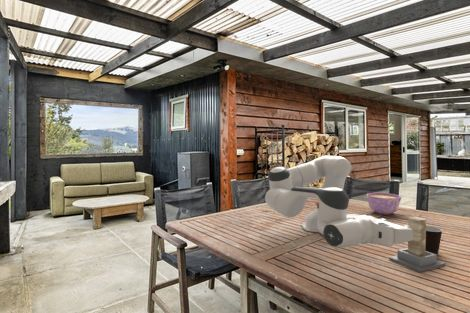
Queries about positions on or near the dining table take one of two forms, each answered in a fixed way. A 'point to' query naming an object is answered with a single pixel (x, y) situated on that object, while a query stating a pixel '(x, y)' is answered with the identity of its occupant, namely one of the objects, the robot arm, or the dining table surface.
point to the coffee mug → (433, 239)
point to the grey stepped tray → (417, 260)
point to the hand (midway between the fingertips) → (396, 224)
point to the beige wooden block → (417, 236)
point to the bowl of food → (383, 202)
